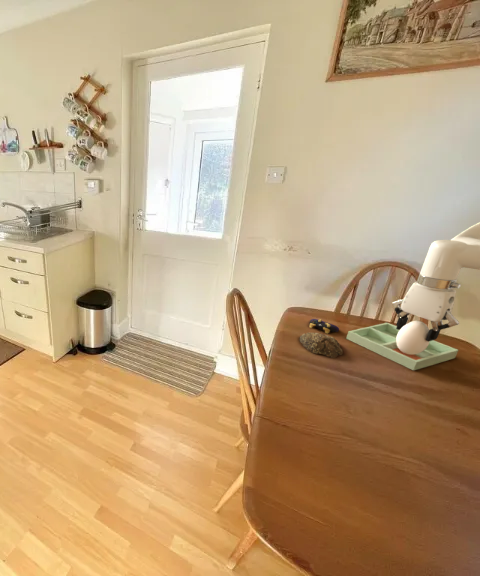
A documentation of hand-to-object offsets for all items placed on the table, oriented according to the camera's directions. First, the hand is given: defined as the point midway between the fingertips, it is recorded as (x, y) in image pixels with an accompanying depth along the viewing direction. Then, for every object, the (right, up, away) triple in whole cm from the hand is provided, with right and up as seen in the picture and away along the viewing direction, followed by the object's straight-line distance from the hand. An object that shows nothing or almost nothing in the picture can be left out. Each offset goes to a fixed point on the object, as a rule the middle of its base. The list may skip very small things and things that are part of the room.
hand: (414, 334), depth 99 cm
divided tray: (+3, -7, +9) cm, 12 cm away
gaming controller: (-13, -2, +23) cm, 27 cm away
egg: (0, -7, +3) cm, 7 cm away
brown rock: (-22, -7, +11) cm, 26 cm away
